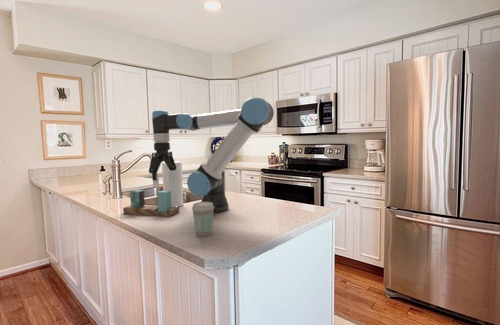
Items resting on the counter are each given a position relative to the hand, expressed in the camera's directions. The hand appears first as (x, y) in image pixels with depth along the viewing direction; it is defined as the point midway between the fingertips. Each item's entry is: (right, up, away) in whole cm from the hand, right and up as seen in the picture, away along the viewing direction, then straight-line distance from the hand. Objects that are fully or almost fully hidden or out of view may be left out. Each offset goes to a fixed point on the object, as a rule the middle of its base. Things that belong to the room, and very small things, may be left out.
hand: (164, 184), depth 138 cm
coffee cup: (+25, -17, -31) cm, 43 cm away
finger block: (0, -13, +1) cm, 13 cm away
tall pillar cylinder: (-1, -14, +20) cm, 24 cm away
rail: (-8, -15, +3) cm, 17 cm away
